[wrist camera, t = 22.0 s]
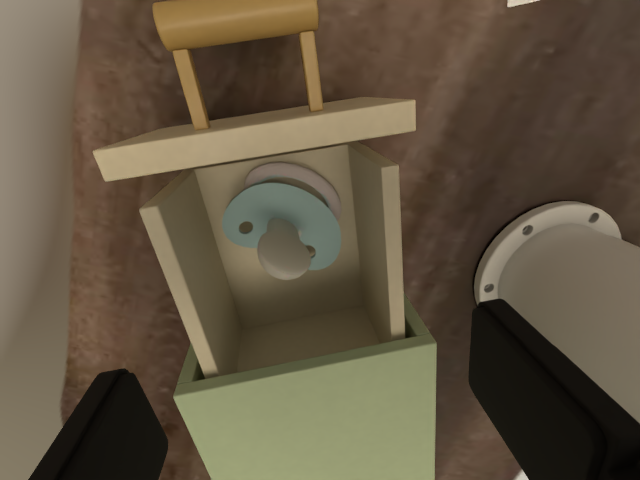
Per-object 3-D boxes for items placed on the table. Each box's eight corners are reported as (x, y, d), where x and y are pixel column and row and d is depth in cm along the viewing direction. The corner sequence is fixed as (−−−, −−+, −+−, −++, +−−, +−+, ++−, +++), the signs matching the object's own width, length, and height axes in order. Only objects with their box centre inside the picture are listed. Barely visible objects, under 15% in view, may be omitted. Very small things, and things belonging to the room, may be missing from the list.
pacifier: (252, 141, 20) (218, 228, 21) (246, 157, 14) (200, 274, 16) (357, 190, 22) (318, 265, 24) (389, 221, 16) (334, 318, 18)
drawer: (131, 39, 18) (27, 0, 10) (356, 7, 18) (414, -50, 11) (227, 331, 26) (208, 427, 19) (378, 301, 27) (419, 382, 19)
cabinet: (208, 287, 25) (172, 397, 16) (380, 255, 26) (437, 342, 17) (255, 428, 32) (248, 560, 23) (390, 400, 33) (434, 516, 24)
